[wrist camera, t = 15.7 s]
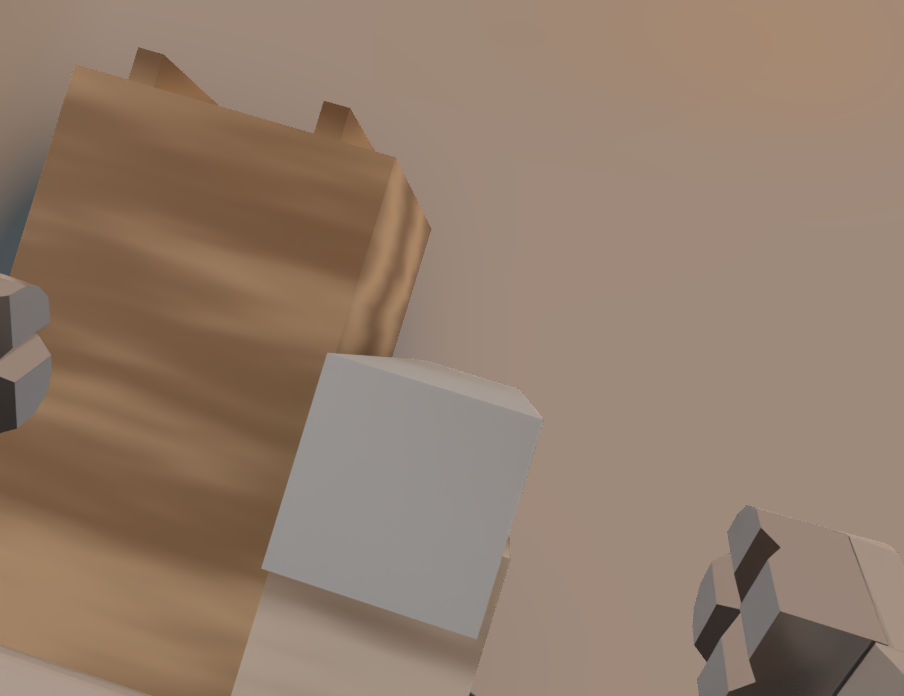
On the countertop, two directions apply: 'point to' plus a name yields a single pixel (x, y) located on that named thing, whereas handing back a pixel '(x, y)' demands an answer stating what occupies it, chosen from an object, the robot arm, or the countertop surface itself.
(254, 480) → the tall wood grain block
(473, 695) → the countertop surface
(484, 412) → the foil carton
